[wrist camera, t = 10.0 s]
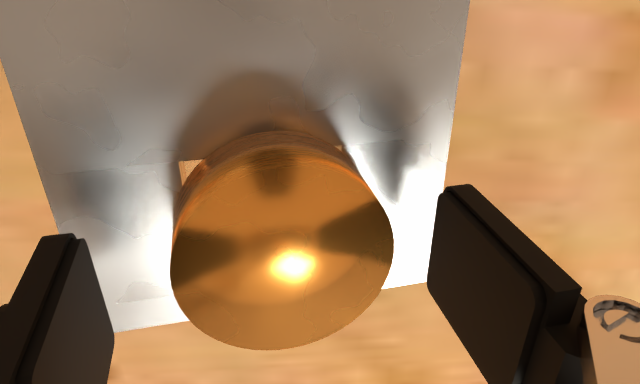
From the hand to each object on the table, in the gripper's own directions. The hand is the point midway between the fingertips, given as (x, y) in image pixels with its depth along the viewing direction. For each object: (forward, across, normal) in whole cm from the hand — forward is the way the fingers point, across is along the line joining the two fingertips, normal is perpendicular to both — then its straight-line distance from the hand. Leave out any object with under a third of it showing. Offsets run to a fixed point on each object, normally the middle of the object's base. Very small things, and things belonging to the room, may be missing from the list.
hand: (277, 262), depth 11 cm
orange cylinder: (+10, 0, 0) cm, 10 cm away
